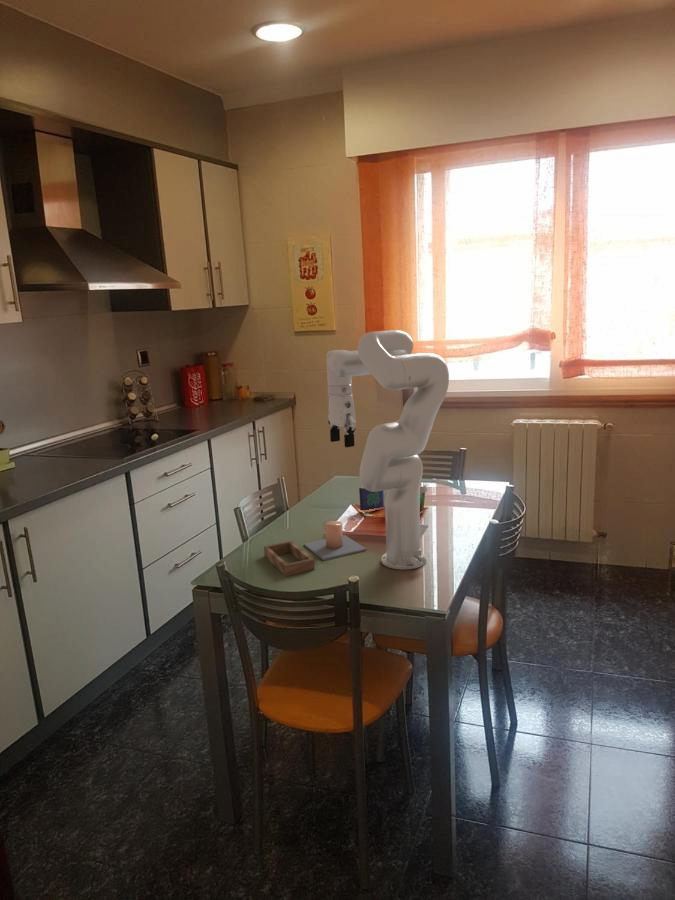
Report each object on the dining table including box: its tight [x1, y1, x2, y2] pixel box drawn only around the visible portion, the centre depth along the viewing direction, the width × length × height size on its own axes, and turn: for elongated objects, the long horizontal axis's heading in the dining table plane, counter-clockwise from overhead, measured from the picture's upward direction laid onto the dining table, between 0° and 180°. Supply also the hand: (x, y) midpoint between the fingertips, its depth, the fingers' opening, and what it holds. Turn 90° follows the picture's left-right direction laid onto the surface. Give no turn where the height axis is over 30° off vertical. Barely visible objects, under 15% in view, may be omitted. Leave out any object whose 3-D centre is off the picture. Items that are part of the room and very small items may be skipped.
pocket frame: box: [263, 540, 315, 577], centre depth 188 cm, size 17×9×3 cm, turn 26°
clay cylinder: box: [325, 520, 343, 549], centre depth 197 cm, size 5×5×7 cm
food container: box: [420, 484, 428, 512], centre depth 224 cm, size 12×6×10 cm, turn 76°
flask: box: [358, 486, 385, 510], centre depth 230 cm, size 9×3×11 cm, turn 114°
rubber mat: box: [303, 534, 367, 561], centre depth 198 cm, size 14×14×1 cm
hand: (342, 443), depth 208 cm, fingers open, 9 cm apart
